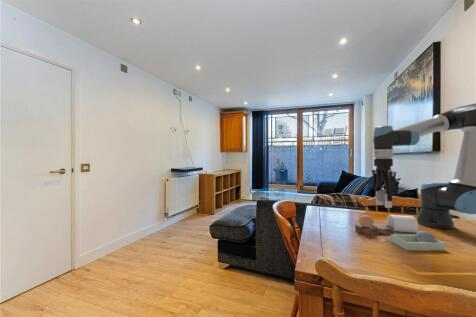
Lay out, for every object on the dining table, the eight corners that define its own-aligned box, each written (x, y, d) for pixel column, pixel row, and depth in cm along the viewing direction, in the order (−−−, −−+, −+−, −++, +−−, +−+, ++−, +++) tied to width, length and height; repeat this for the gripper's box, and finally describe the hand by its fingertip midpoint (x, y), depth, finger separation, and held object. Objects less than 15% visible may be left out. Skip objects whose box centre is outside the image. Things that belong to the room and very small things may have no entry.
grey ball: (426, 242, 90) (426, 228, 90) (439, 248, 84) (439, 233, 84) (411, 242, 90) (412, 228, 90) (424, 248, 84) (424, 233, 84)
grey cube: (385, 200, 105) (385, 188, 105) (394, 203, 99) (394, 190, 99) (373, 200, 105) (373, 189, 105) (381, 203, 99) (381, 191, 99)
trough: (425, 242, 92) (425, 234, 91) (445, 251, 83) (445, 242, 83) (390, 242, 92) (390, 234, 92) (406, 251, 83) (406, 242, 83)
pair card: (383, 239, 95) (383, 237, 95) (393, 244, 89) (393, 243, 89) (366, 239, 95) (366, 237, 95) (374, 244, 89) (374, 243, 89)
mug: (418, 235, 100) (418, 218, 100) (394, 233, 102) (394, 217, 102) (403, 227, 112) (404, 212, 112) (382, 225, 114) (383, 211, 114)
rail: (387, 232, 104) (387, 224, 104) (393, 235, 100) (393, 227, 100) (355, 231, 104) (355, 224, 104) (359, 234, 100) (360, 227, 100)
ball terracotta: (368, 225, 105) (368, 213, 105) (376, 229, 99) (376, 216, 99) (356, 225, 105) (356, 213, 105) (363, 229, 99) (363, 216, 99)
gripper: (363, 158, 111) (364, 201, 112) (389, 158, 92) (389, 211, 93) (378, 157, 111) (378, 201, 112) (406, 158, 92) (406, 210, 93)
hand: (383, 205), depth 102 cm, fingers closed on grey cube, 6 cm apart
